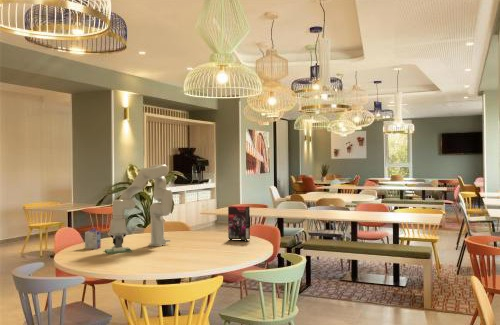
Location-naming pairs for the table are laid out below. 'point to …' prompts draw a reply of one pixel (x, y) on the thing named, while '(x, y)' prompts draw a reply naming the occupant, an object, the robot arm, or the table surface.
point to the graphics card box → (239, 222)
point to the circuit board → (118, 250)
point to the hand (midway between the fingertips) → (118, 243)
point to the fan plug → (118, 241)
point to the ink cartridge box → (93, 239)
